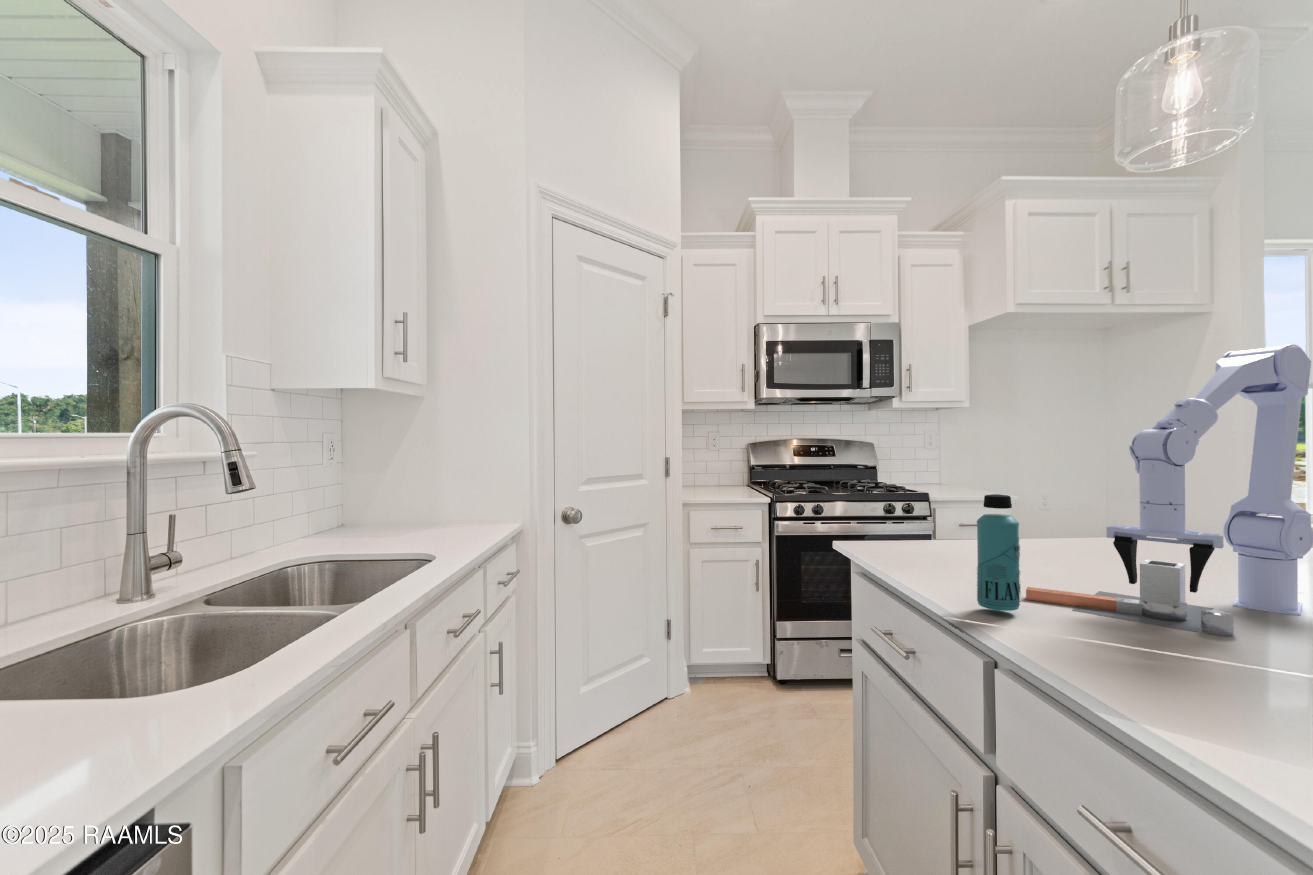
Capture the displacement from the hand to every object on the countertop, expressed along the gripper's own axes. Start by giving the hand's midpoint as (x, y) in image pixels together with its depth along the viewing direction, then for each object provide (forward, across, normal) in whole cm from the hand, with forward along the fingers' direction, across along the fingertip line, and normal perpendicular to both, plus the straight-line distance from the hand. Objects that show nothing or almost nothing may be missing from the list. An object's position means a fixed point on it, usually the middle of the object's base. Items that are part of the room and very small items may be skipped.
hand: (1162, 586), depth 100 cm
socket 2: (+5, +7, -4) cm, 10 cm away
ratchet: (+5, -8, -1) cm, 9 cm away
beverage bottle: (+5, -19, -16) cm, 26 cm away
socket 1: (+2, 0, 0) cm, 2 cm away
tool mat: (+5, -3, +2) cm, 6 cm away
